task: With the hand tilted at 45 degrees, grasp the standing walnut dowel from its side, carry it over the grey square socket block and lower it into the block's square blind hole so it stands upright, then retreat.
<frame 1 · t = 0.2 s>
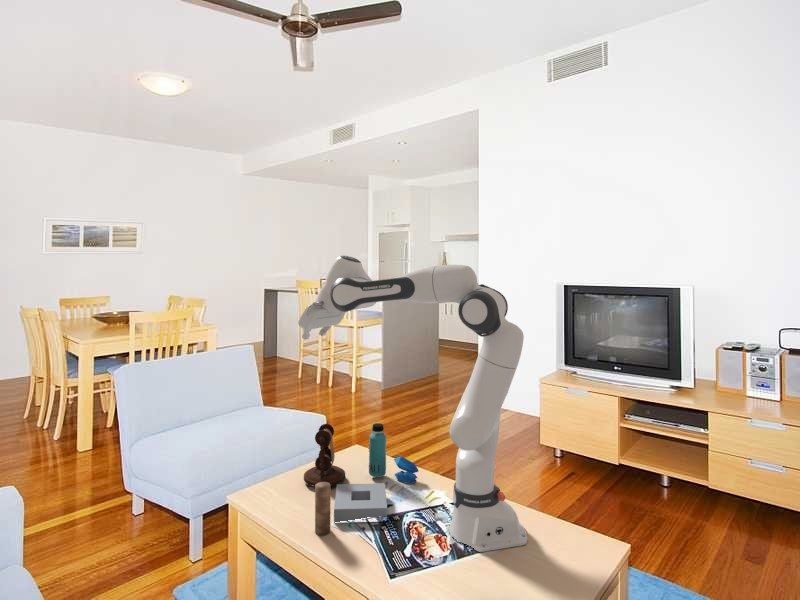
hand: (313, 336, 157), 54 cm above the table, tool tilted 30°, fingers open, 8 cm apart
beverage bottle: (377, 477, 174), on the table
walnut dowel: (322, 531, 139), on the table
dark brown knobbed piece: (324, 481, 170), on the table
grey square socket block: (360, 509, 151), on the table
open blue clamshell: (405, 481, 172), on the table
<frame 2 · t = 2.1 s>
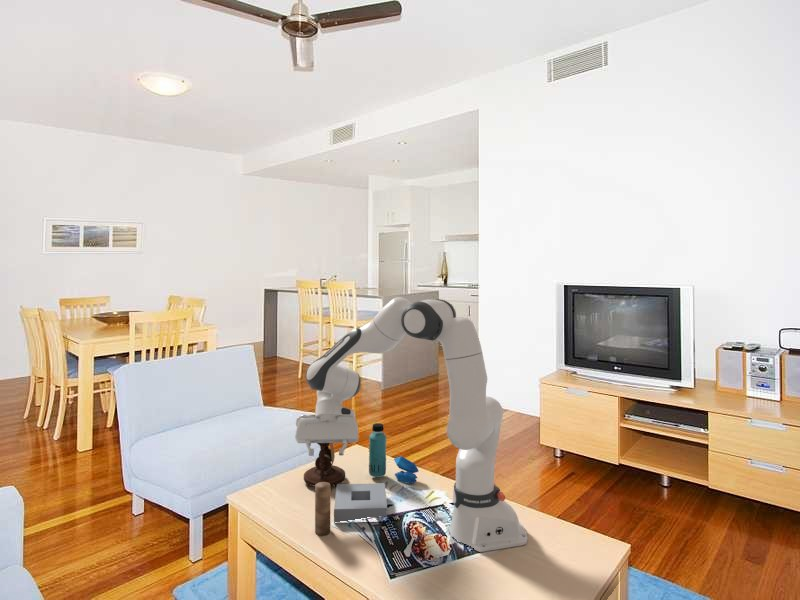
hand: (326, 455, 149), 18 cm above the table, tool tilted 45°, fingers open, 8 cm apart
nothing on the table moved.
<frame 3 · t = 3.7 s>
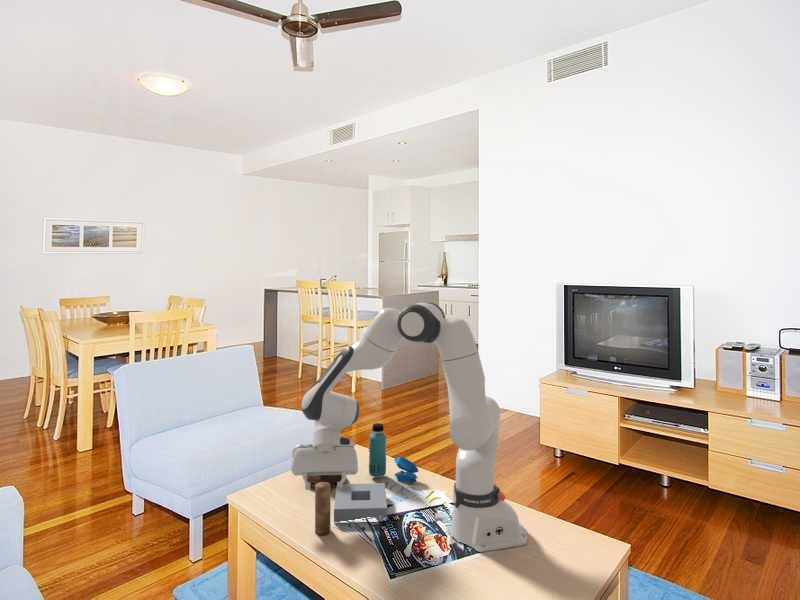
hand: (323, 488, 141), 11 cm above the table, tool tilted 45°, fingers open, 8 cm apart
nothing on the table moved.
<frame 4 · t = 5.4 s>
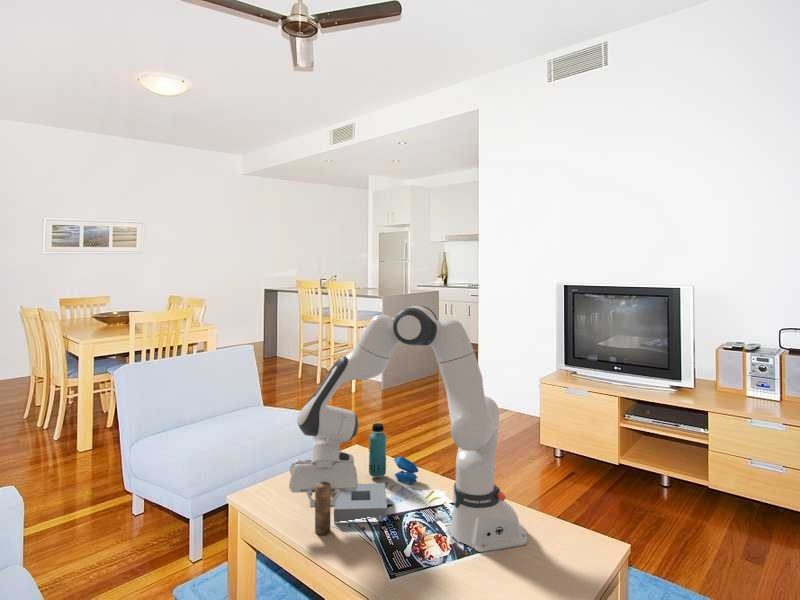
hand: (322, 506, 137), 8 cm above the table, tool tilted 45°, fingers closed on walnut dowel, 4 cm apart
walnut dowel: (322, 531, 139), on the table, touching gripper
everything else where it was.
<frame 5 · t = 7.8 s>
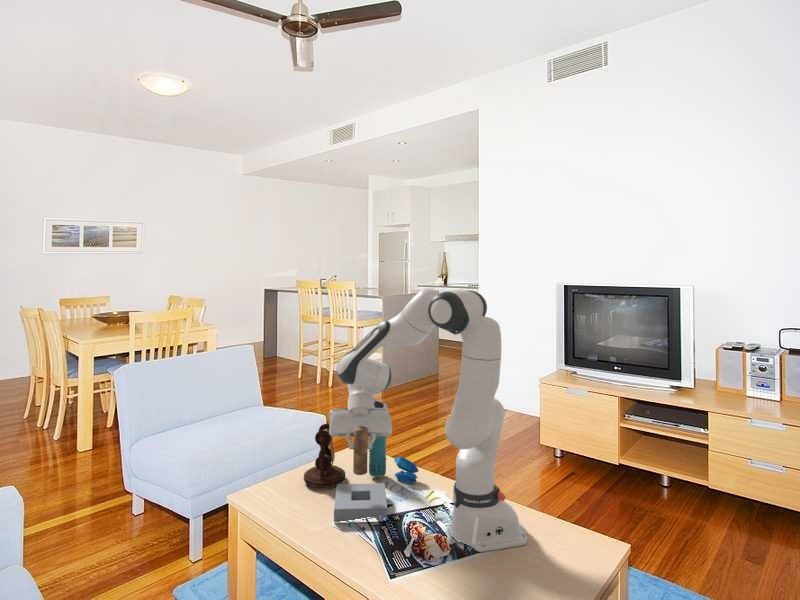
hand: (360, 448, 149), 20 cm above the table, tool tilted 45°, fingers closed on walnut dowel, 4 cm apart
walnut dowel: (360, 471, 150), point 12 cm above the table, touching gripper
everything else where it was.
when the fingers open (10 cm above the table, at t = 10.6 s): walnut dowel drops 2 cm, resting on grey square socket block.
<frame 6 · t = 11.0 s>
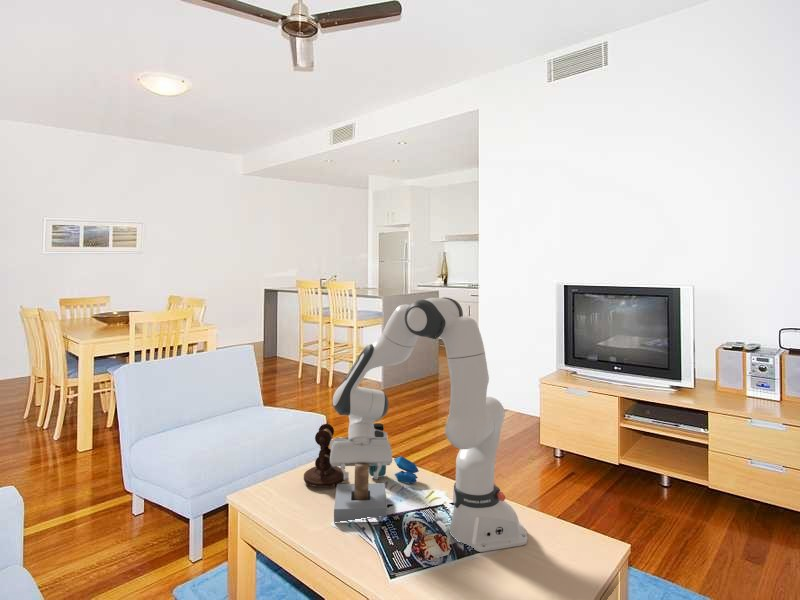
hand: (361, 478, 150), 10 cm above the table, tool tilted 45°, fingers open, 8 cm apart
walnut dowel: (360, 507, 151), point 1 cm above the table, touching grey square socket block
everything else where it was.
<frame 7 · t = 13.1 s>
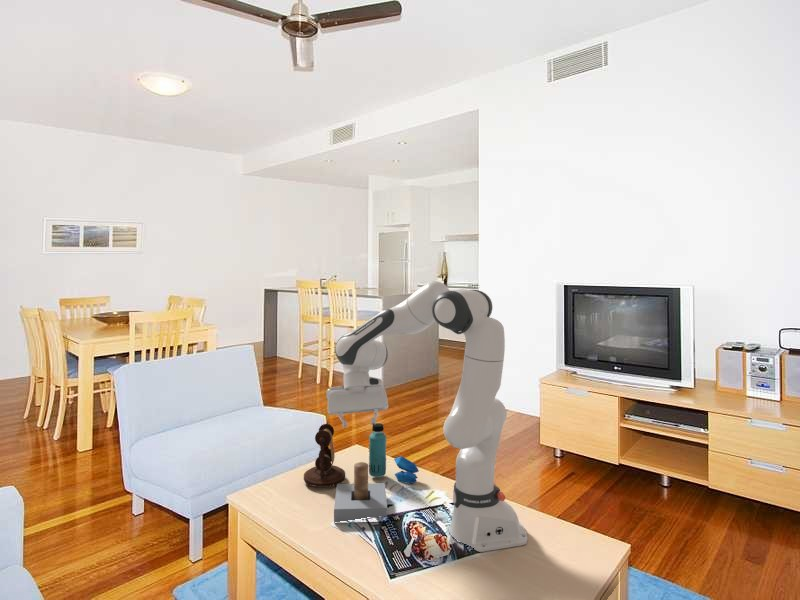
hand: (359, 425, 155), 25 cm above the table, tool tilted 35°, fingers open, 8 cm apart
nothing on the table moved.
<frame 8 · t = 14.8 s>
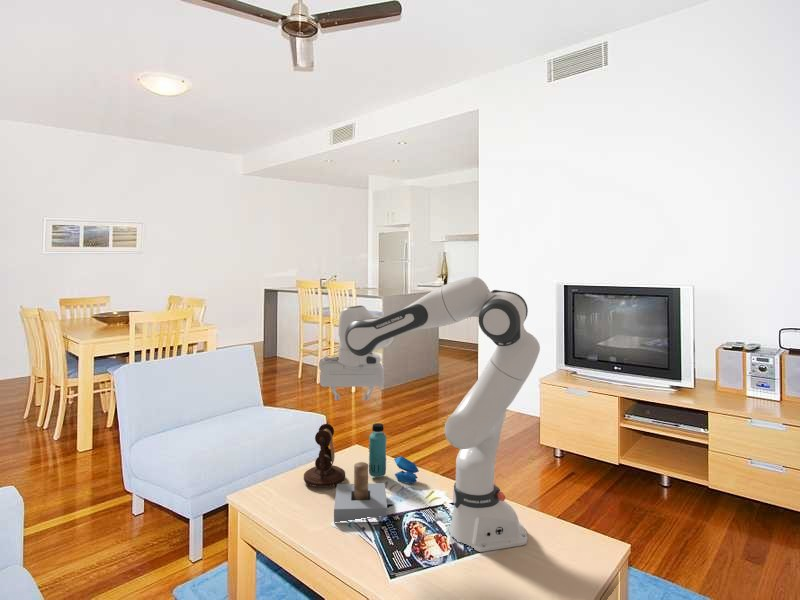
hand: (352, 399, 150), 35 cm above the table, tool pointing down, fingers open, 8 cm apart
nothing on the table moved.
at the end: walnut dowel 0.1 cm off-centre on the grey square socket block, point 0.5 cm above the grey square socket block's base; walnut dowel tilted 0°; the gripper is holding nothing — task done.
